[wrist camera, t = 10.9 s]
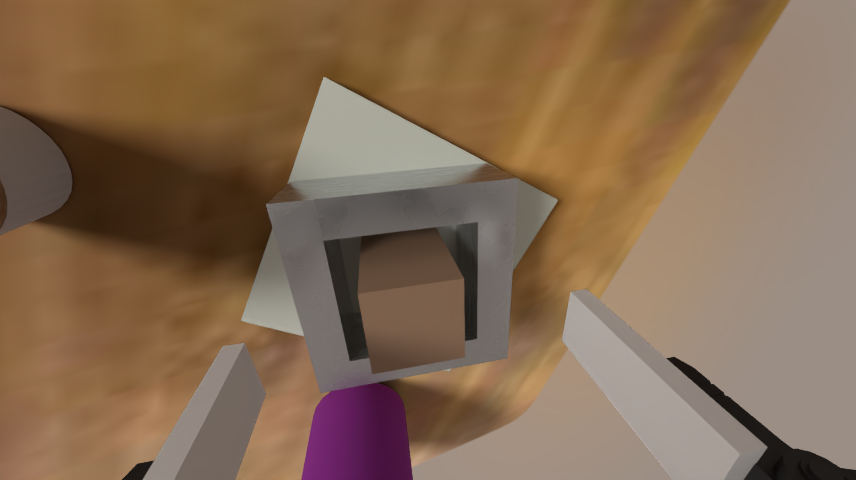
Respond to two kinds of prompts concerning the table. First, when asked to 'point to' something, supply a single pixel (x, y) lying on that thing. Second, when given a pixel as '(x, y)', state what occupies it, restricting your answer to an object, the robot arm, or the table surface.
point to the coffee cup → (29, 173)
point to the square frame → (385, 213)
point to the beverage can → (359, 436)
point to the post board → (368, 153)
